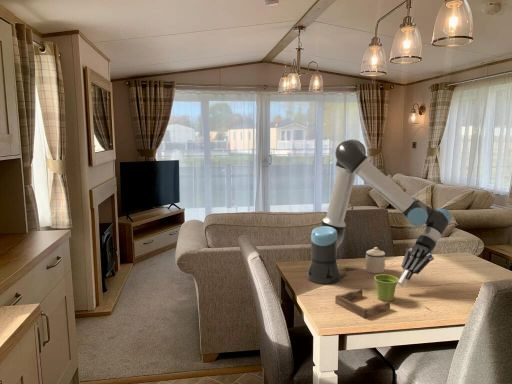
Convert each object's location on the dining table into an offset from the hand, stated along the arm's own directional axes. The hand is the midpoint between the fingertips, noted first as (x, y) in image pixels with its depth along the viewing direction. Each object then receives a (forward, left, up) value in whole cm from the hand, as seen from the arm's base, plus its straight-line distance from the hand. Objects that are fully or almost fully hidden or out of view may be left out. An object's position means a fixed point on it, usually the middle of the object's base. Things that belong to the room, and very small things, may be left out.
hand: (400, 284), depth 166 cm
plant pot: (-5, -8, -4) cm, 10 cm away
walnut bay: (-11, -19, -4) cm, 23 cm away
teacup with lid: (-17, +24, -4) cm, 30 cm away
